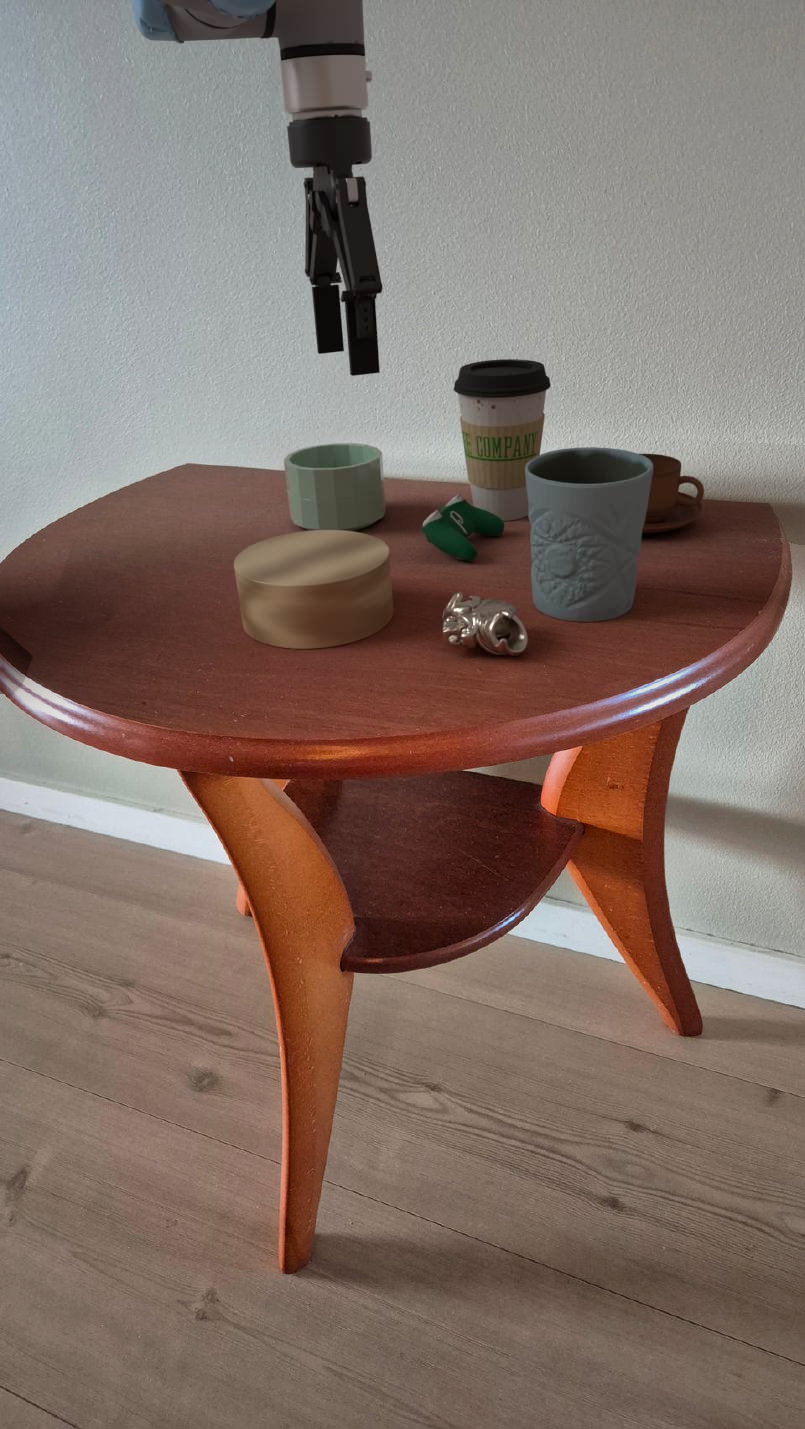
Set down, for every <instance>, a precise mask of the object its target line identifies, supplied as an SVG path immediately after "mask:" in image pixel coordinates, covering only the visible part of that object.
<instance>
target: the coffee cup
mask: <svg viewBox="0 0 805 1429" xmlns="http://www.w3.org/2000/svg"><path fill="white" fill-rule="evenodd" d="M551 387H552V385H551V379H550V377H549V376H548V375H547V371H546V368H545V365H544V363H542V362H539V361H536V360H529V359H518V358H515V359H514V358H509V359H508V358H505V359H489V360H481V361H476V362H471V363H467V364H464V365H462V366H461V367H460V368H459V371H458V376H457V379H456V380H455V381H454V386H453V392H455V393H456V394H457V396H458V403H459V411H460V417H459V422H460V429H461V438H462V443H463V451H464V458H465V465H466V466H465V467H466V473H467V480H468V482H469V486H470V494H471V502H472V506H474V507H477V508H480V509H483V510H486V511H488V512H490V513H492V514H495V515H496V516H498V517H499V518H500V519H501V520H502V521H503V522H505V521H507V522H509V521H514V520H515V521H516V520H520V519H523V518H526V517H529V504H528V498H527V489H526V476H525V466H526V464H527V463H528V462H529V461H530V460H532V459H533V458H535V457H537V456H538V455H541V448H542V441H543V440H542V439H543V433H544V424H545V416H546V415H545V412H544V411H545V403H546V394H547V390H549V389H550V388H551Z"/></svg>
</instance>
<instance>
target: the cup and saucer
mask: <svg viewBox="0 0 805 1429" xmlns="http://www.w3.org/2000/svg"><path fill="white" fill-rule="evenodd" d="M639 454H640V455H643V456H645V457H647V458H648V459H650V460H651V462H652V463H653V474H652V480H651V486H650V492H649V500H648V507H647V512H646V518H645V522H644V525H643V529H642V534H655V533H663V532H669V531H674V530H677V529H680V528H684V527H685V526H687V525H689V524H691V523H692V522H693V521H695V520H696V519H697V518H698V517H699V516H700V514H701V513H702V509H703V505H702V503H701V502H702V500H703V498H704V496H705V488H704V485H703V483H702V482H701V480H700V479H698V477H697V478H696V477H695V476H691V475H682V474H681V473H682V462H681V461H680V460H679V459H677V458H675V457H672V456H668V455H664V454H659V453H658V454H657V453H639ZM684 484H692V485H693V486H694V487H695V488H696V495H695V497H694V496H692V495H690V494H687V493H685V492H681V491H680V485H684Z"/></svg>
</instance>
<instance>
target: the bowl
mask: <svg viewBox="0 0 805 1429" xmlns="http://www.w3.org/2000/svg"><path fill="white" fill-rule="evenodd" d="M283 468H284V475H285V485H286V491H287V502H288V509H289V519H290V520H291V522H292V523H293V525H295V526H299V527H300V528H302V529H305V530H306V531H313V530H344V531H353V532H355V531H359V530H362V529H364V528H367V527H369V526H371V525H373V524H374V523H376V522H377V521H379V520H380V519H382V518H384V516H385V514H386V511H387V510H386V509H387V508H386V507H387V506H386V493H385V478H384V477H385V476H384V460H383V452H382V451H381V450H380V449H379V448H378V447H375V446H373V445H370V444H366V443H365V444H363V443H354V442H353V443H352V442H351V443H350V442H345V443H344V442H343V443H341V442H339V443H325V444H318V445H312V446H308V447H302V448H299V449H297V450H295V451H293V452H290V453H288V454H286V456H285V457H284V458H283Z"/></svg>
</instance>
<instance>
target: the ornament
mask: <svg viewBox="0 0 805 1429" xmlns="http://www.w3.org/2000/svg"><path fill="white" fill-rule="evenodd" d="M463 598H464V595H463V593H462V592H461V591H459V592H456V593H454V594H453V595H452V597H451V598H450V600H449V602H448V603H447V605H446V606H445V608H444V609H443V611H442V612H443V614H442V625H441V631H442V632H441V633H442V635H441V636H442V645H443V647H448V648H460V647H461V645H463V646H466V648H467V649H473V648H476V647H477V644H478V646H479V647H481V648H482V649H483V650H484V651H486V652H487V653H489V654H491V655H495V656H507V655H509V656H513V657H516V656H520V655H522V654H523V653H524V651H526V648H527V646H528V641H529V638H528V633H527V630H526V627H525V625H524V623H523V622H522V621H521V619H520V618H519V617H518V616H517V608H516V607H515V606H514V605H513V604H511V603H509V602H506V601H504V600H502V599H496V600H495V599H492V598H485V599H483V598H482V597H480V596H478V595H469V597H468V600H466V601H462V600H463Z"/></svg>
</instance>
